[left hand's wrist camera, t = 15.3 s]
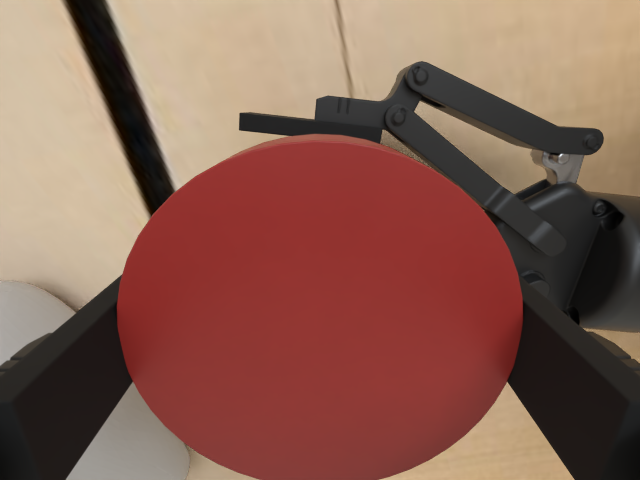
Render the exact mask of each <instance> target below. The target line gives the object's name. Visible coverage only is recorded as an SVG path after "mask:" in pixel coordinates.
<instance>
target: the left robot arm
mask: <svg viewBox="0 0 640 480" xmlns="http://www.w3.org/2000/svg"><path fill="white" fill-rule="evenodd" d="M518 277H519V282H520V287H521V292H522V300H523V326H522V332H521V337H520V342H519V346H518V350H517V355H516V359H515V363H514V367H513V369H512V371H511V373H510V376H509V378H508V380H507V382H508V383H509V385H510V386H511V388H512V389H513V391H514V392H515V393H516V395H517V396H518V398H519V399H520V401H521V402H522V404H523V405H524V407H525V408H526V410H527V411H528V412H529V414H530V415H531V417H532V418H533V420H534V421H535V423H536V424H537V426H538V427H539V428H540V430H541V431H542V433H543V434H544V436H545V437H546V439H547V440H548V442H549V443H550V444H551V446H552V447H553V449H554V450H555V452H556V453H557V455H558V456H559V458H560V459H561V461H562V462H563V463H564V465H565V466H566V468H567V469H568V471H569V472H570V474H571V475H572V477H573V478H574V479H575V480H640V363H638V362H637V361H636V360H635V359H631V356H630V355H628V354H627V353H626V352H625V351H623V350H622V349H621V348H620V347H618V346H617V345H616V344H615V343H613V342H611V341H609V340H607V339H605V338H603V337H602V336H600V335H598V334H596V333H594V332H586V331H585V330H584V329H583V328H582V327H580V326H579V325H578V324H577V323H576V322H574V321H573V320H572V319H571V318H570V317H568V316H567V315H566V314H565V313H564V312H562V311H561V310H560V309H559V308H558V307H556V306H555V305H554V304H553V303H552V302H550V301H549V300H548V299H547V298H546V297H544V296H543V295H542V294H541V293H540V292H539V291H537V290H536V289H535V288H534V287H533V286H531V285H530V284H529V283H528V282H527V281H525V280H524V279H523V278H522V277H521V276H519V275H518ZM121 278H122V275H121V276H120V277H119V278H117V279H116V280H115V281H114V282H113V283H111V284H110V285H109V286H108V287H107V288H105V289H104V290H103V291H102V292H101V293H99V294H98V295H97V296H96V297H95V298H94V299H92V300H91V301H90V302H89V303H88V304H86V305H85V306H84V307H83V308H82V309H80V310H79V311H78V312H77V313H76V314H74V315H73V316H72V317H71V318H70V319H68V320H67V321H66V322H65V323H64V324H62V325H61V326H60V327H59V328H58V329H56V330H55V331H54V332H53V333H47V334H45V335H44V336H42V337H40V338H38V339H36V340H34V341H32V342H30V343H28V344H27V345H25V346H24V347H23V348H22V349H20V350H19V351H18V352H17V353H15V354H14V355H13V356H12V357H10V360H7V361H5V362H4V363H3V364H2V365H0V480H66V479H67V477H68V476H69V474H70V473H71V471H72V470H73V468H74V467H75V465H76V464H77V463H78V461H79V460H80V458H81V457H82V455H83V454H84V452H85V451H86V449H87V448H88V446H89V445H90V444H91V442H92V441H93V439H94V438H95V436H96V435H97V433H98V432H99V430H100V429H101V428H102V426H103V425H104V423H105V422H106V420H107V419H108V417H109V416H110V414H111V413H112V412H113V410H114V409H115V407H116V406H117V404H118V403H119V401H120V400H121V398H122V397H123V395H124V394H125V393H126V391H127V390H128V388H129V387H130V385H131V384H132V382H133V380H132V378H131V376H130V374H129V372H128V369H127V366H126V363H125V359H124V355H123V350H122V346H121V341H120V337H119V332H118V327H117V302H118V294H119V287H120V281H121Z"/></svg>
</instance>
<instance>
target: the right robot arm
mask: <svg viewBox="0 0 640 480" xmlns="http://www.w3.org/2000/svg"><path fill="white" fill-rule="evenodd" d="M419 101H422V102H424V103H426V104H428V105H430V106H432V107H434V108H436V109H439V110H441V111H443V112H445V113H447V114H449V115H451V116H453V117H456V118H458V119H460V120H462V121H464V122H466V123H468V124H470V125H473V126H475V127H477V128H479V129H481V130H483V131H485V132H487V133H490V134H492V135H494V136H496V137H498V138H500V139H502V140H504V141H507V142H509V143H511V144H514V145H516V146H520V147H524V148H529V149H532V151H531V157H532V160H533V162H534V163H535V164H536V165H539V166H541V167H543V168H544V169H545V170H546V172H547V179H544V180H541V181H539V182H537V183H535V184H533V185H531V186H529V187H528V188H526V189H524V190H522V191H520V192H518V193H516V194H513V193H511V192H510V191H508V190H507V189H505V188H504V187H502V186H501V185H500V184H498V183H497V182H496V181H495V180H494V179H493V178H491V177H490V176H489V175H488V174H487V173H485V172H484V171H483V170H482V169H481V168H480V167H478V166H477V165H476V164H475V163H474V162H472V161H471V160H470V159H469V158H468V157H466V156H465V155H464V154H463V153H462V152H461V151H459V150H458V149H457V148H456V147H455V146H453V145H452V144H451V143H450V142H449V141H447V140H446V139H445V138H444V137H443V136H442V135H440V134H439V133H438V132H437V131H436V130H434V129H433V128H432V127H431V126H430V125H428V124H427V123H426V122H425V121H424V120H423V119H421V118H420V117H419V116H418V115H417V114H415V113H414V110H415V108H416V107H417V105H418V103H419ZM382 129H383V130H386V131H388V132H389V133H390V134H391V135H393V136H394V137H395V138H396V139H397V140H399V141H400V142H401V143H402V144H404V145H405V146H406V147H407V148H409V149H410V150H411V151H412V152H413V153H415V154H416V155H417V156H418V157H420V158H421V159H422V160H423V161H425V162H426V163H427V164H428V165H429V166H431V167H432V168H433V169H434V170H436V171H437V172H438V173H440V174H441V175H443V176H444V177H446V178H447V179H448V180H450V181H451V182H453V183H454V184H456V185H457V186H459V187H460V188H461V189H462V190H463V191H464V192H465V193H466V194H467V195H468V196H470V197H471V198H472V199H473V200H474V201H475V202H476V203H477V204H478V205H479V206H480V207H481V208H482V209H483V210H484V212H485V213H486V215H487V216H488V217H489V218H490V220H491V221H492V222H493V223H494V225H495V226H496V227H497V229H498V231H499V233H500V234H501V236H502V238H503V240H504V241H505V243H506V245H507V247H508V249H509V251H510V253H511V256H512V259H513V262H514V264H515V267H516V270H517V272H518V275H519V276H521V277H522V278H523V279H524V280H525V281H527V282H528V283H529V284H530V285H531V286H533V287H534V288H535V289H536V290H537V291H539V292H540V293H541V294H542V295H543V296H544V297H546V298H547V299H548V300H549V301H550V302H552V303H553V304H554V305H555V306H556V307H558V308H559V309H560V310H561V311H562V312H564V313H565V314H566V315H567V316H568V317H570V318H571V319H572V320H573V321H574V322H576V323H577V324H578V325H579V326H580V327H582V328H589V329H600V330H611V331H622V332H634V333H638V332H640V197H635V196H625V195H616V194H607V193H597V192H588V191H585V190H584V189H582V188H581V187H580V186H579V185H577V184H576V182H577V178H578V175H579V172H580V168H581V165H582V161H583V158H584V155H591V154H593V153H595V152H597V151H598V150H599V149H600V148H601V146H602V144H603V139H604V137H603V134H602V132H601V131H600V130H598V129H593V128H579V127H565V126H556V125H554V124H552V123H550V122H548V121H546V120H544V119H542V118H540V117H538V116H536V115H534V114H532V113H530V112H527V111H525V110H523V109H521V108H519V107H517V106H515V105H513V104H511V103H509V102H507V101H505V100H503V99H501V98H499V97H497V96H495V95H493V94H491V93H489V92H486V91H484V90H482V89H480V88H478V87H476V86H474V85H472V84H470V83H468V82H466V81H464V80H462V79H460V78H458V77H456V76H454V75H452V74H450V73H448V72H445V71H443V70H441V69H439V68H437V67H435V66H433V65H431V64H429V63H427V62H423V61H421V62H416V63H414V64H412V65H410V66H408V67H406V68H404V69H403V70H401V71H400V72H399V74H398V75H397V78H396V82H395V84H394V86H393V88H392V90H391V92H390V93H389V95H388V96H387V97H386V98H385V99H384V100H382V101H370V100H361V99H352V98H344V97H335V96H325V97H322V98H319V99H317V100H316V110H315V120H314V119H305V118H296V117H287V116H278V115H269V114H260V113H251V112H249V113H240V118H239V130H241V131H250V132H259V133H269V134H278V135H287V136H299V135H309V134H329V135H344V136H349V137H355V138H360V139H366V140H369V141H372V142H375V143H378V144H380V141H381V134H382Z"/></svg>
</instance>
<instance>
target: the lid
mask: <svg viewBox="0 0 640 480" xmlns="http://www.w3.org/2000/svg"><path fill="white" fill-rule="evenodd" d="M522 326H523V300H522V292H521V287H520V282H519V277H518V272H517V270H516V267H515V264H514V262H513V259H512V256H511V253H510V251H509V249H508V247H507V245H506V243H505V241H504V240H503V238H502V236H501V234H500V233H499V231H498V229H497V227H496V226H495V225H494V223H493V222H492V221H491V220H490V218H489V217H488V216H487V215H486V213H485V212H484V211H483V210H482V208H481V207H480V206H479V205H478V204H477V203H476V202H475V201H474V200H473V199H472V198H471V197H470V196H468V195H467V194H466V193H465V192H464V191H463V190H462V189H461V188H460V187H459V186H457V185H456V184H454V183H453V182H451V181H450V180H448V179H447V178H446V177H444V176H443V175H441V174H440V173H438V172H437V171H435V170H434V169H432V168H430V167H428V166H426V165H424V164H422V163H420V162H418V161H417V160H415V159H413V158H411V157H409V156H407V155H405V154H403V153H401V152H398V151H396V150H394V149H392V148H390V147H387V146H384V145H381V144H378V143H375V142H372V141H369V140H366V139H360V138H355V137H349V136H344V135H329V134H309V135H299V136H289V137H284V138H280V139H276V140H272V141H268V142H264V143H261V144H259V145H256V146H253V147H251V148H248V149H246V150H243V151H241V152H239V153H237V154H235V155H233V156H231V157H229V158H228V159H226V160H224V161H222V162H220V163H218V164H217V165H215V166H213V167H211V168H210V169H208V170H206V171H204V172H202V173H201V174H199V175H197V176H195V177H194V178H193V179H191V180H190V181H189V182H188V183H186V184H185V185H184V186H182V187H181V188H180V189H179V190H177V191H176V192H175V193H173V194H172V195H171V196H170V197H169V198H168V199H167V200H166V202H165V203H164V204H163V205H162V206H161V207H160V208H159V209H158V210H157V211H156V212H155V213H154V214H153V215H152V217H151V218H150V220H149V221H148V223H147V224H146V226H145V227H144V228H143V230H142V231H141V233H140V234H139V236H138V237H137V240H136V242H135V244H134V246H133V248H132V250H131V252H130V254H129V256H128V258H127V261H126V264H125V268H124V271H123V274H122V278H121V281H120V287H119V294H118V302H117V327H118V332H119V337H120V341H121V346H122V350H123V355H124V359H125V363H126V366H127V369H128V372H129V374H130V376H131V378H132V380H133V382H134V384H135V386H136V388H137V390H138V392H139V394H140V395H141V397H142V398H143V400H144V401H145V402H146V404H147V405H148V407H149V408H150V410H151V411H152V412H153V413H154V414H155V416H156V417H157V418H158V419H159V420H160V421H161V422H162V423H163V425H164V426H165V427H166V428H167V429H169V430H170V431H171V432H172V433H173V434H174V435H175V436H177V437H178V438H179V439H180V440H181V441H182V442H184V443H185V444H187V445H188V446H189V447H191V448H192V449H194V450H195V451H196V452H198V453H199V454H201V455H203V456H205V457H206V458H208V459H210V460H212V461H214V462H215V463H217V464H219V465H222V466H224V467H226V468H229V469H231V470H233V471H236V472H238V473H241V474H244V475H247V476H250V477H253V478H257V479H260V480H379V479H383V478H387V477H390V476H393V475H396V474H398V473H401V472H404V471H407V470H409V469H412V468H414V467H416V466H418V465H420V464H422V463H424V462H426V461H428V460H430V459H432V458H433V457H435V456H437V455H438V454H440V453H441V452H443V451H445V450H446V449H448V448H449V447H451V446H452V445H453V444H454V443H456V442H457V441H458V440H460V439H461V438H462V437H463V436H465V435H466V434H467V433H468V432H469V431H470V430H471V429H472V428H473V427H474V426H475V425H476V424H477V423H478V422H479V421H480V420H481V419H482V418H483V417H484V415H485V414H486V413H487V412H488V410H489V409H490V408H491V407H492V405H493V404H494V403H495V401H496V399H497V398H498V396H499V395H500V393H501V391H502V390H503V388H504V386H505V385H506V383H507V380H508V378H509V376H510V373H511V371H512V369H513V367H514V363H515V359H516V355H517V350H518V346H519V342H520V337H521V332H522Z"/></svg>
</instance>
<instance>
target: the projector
mask: <svg viewBox="0 0 640 480" xmlns="http://www.w3.org/2000/svg"><path fill="white" fill-rule="evenodd" d="M74 314H76V312H75V311H73V310H72V309H71V308H70V307H69V306H67V305H66V304H65V303H63V302H62V301H61V300H59V299H58V298H56V297H55V296H53V295H52V294H50V293H48V292H47V291H45V290H43V289H41V288H39V287H36V286H34V285H31V284H28V283H23V282H18V281H0V365H2V364H3V363H4V362H5V361H7V360H10V357H12V356H13V355H14V354H15V353H17V352H18V351H19V350H20V349H22V348H23V347H24V346H25V345H27V344H28V343H30V342H32V341H34V340H36V339H38V338H40V337H42V336H44V335H45V334H47V333H53V332H54V331H55V330H56V329H58V328H59V327H60V326H61V325H62V324H64V323H65V322H66V321H67V320H68V319H70V318H71V317H72V316H73V315H74ZM189 466H190V457H189V453H188V450H187V448H186V446H185V444H184V442H182V441H181V440H180V439H179V438H178V437H177V436H175V435H174V434H173V433H172V432H171V431H170V430H169V429H167V428H166V427H165V426H164V425H163V423H162V422H161V421H160V420H159V419H158V418H157V417H156V416H155V414H154V413H153V412H152V411H151V410H150V408H149V407H148V405H147V404H146V402H145V401H144V400H143V398H142V397H141V395H140V394H139V392H138V390H137V388H136V386H135V384H134V382H132V384H131V385H130V387H129V388H128V390H127V391H126V393H125V394H124V395H123V397H122V398H121V400H120V401H119V403H118V404H117V406H116V407H115V409H114V410H113V412H112V413H111V414H110V416H109V417H108V419H107V420H106V422H105V423H104V425H103V426H102V428H101V429H100V430H99V432H98V433H97V435H96V436H95V438H94V439H93V441H92V442H91V444H90V445H89V446H88V448H87V449H86V451H85V452H84V454H83V455H82V457H81V458H80V460H79V461H78V463H77V464H76V465H75V467H74V468H73V470H72V471H71V473H70V474H69V476H68V477H67V479H66V480H185V479H186V477H187V474H188V471H189Z"/></svg>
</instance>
